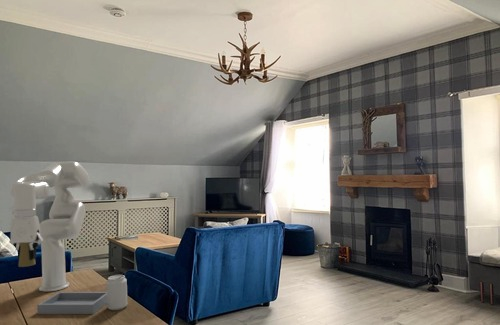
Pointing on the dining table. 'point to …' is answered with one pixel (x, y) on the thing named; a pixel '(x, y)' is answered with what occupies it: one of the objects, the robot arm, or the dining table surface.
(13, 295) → the dining table surface
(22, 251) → the pepper mill
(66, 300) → the tray
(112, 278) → the can
